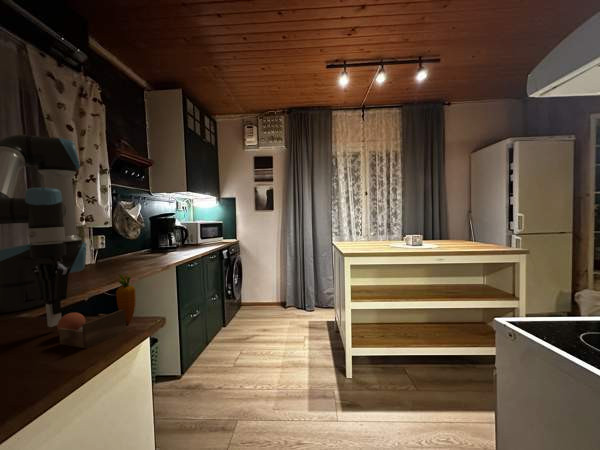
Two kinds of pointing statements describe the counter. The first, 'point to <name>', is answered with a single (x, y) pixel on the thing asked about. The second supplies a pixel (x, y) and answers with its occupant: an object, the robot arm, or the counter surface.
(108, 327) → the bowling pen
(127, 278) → the carrot
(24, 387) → the counter surface
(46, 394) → the counter surface
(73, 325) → the ball
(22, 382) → the counter surface
